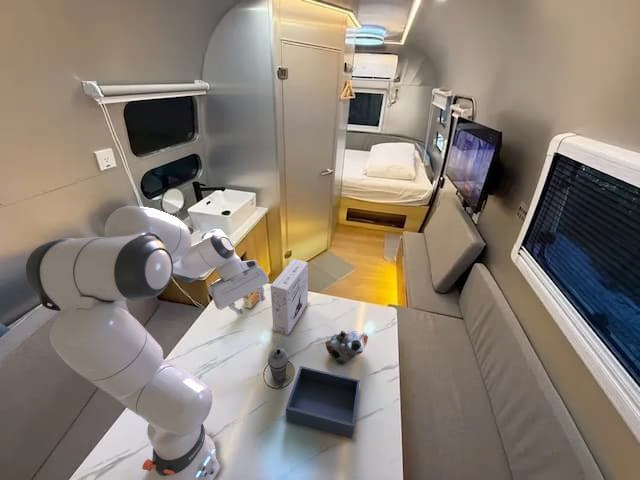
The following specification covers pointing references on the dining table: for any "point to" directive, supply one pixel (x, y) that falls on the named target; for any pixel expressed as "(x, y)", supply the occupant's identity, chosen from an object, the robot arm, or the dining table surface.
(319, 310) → the dining table surface
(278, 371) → the beverage cup
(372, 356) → the dining table surface
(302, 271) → the cereal box
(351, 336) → the lucky cat figurine
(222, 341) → the dining table surface
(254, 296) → the candy box
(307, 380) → the blue open storage box
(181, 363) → the dining table surface
